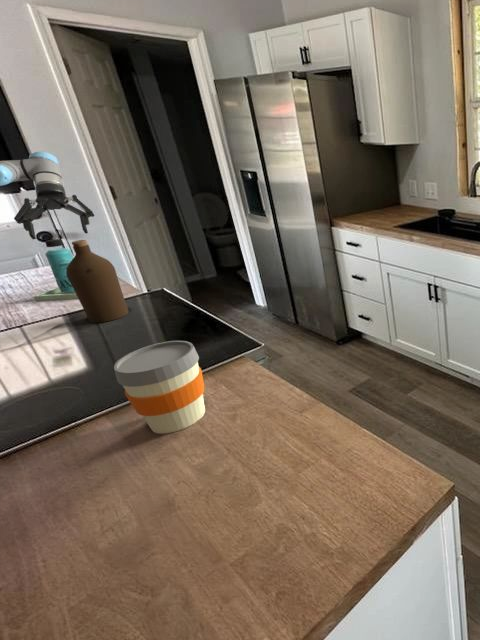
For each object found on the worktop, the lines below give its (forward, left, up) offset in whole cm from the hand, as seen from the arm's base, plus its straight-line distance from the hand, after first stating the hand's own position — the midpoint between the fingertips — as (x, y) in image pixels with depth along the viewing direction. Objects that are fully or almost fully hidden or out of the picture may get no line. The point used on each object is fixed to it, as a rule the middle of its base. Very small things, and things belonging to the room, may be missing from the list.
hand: (59, 234), depth 151 cm
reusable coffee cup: (+87, -89, -21) cm, 126 cm away
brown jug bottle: (+33, -32, -21) cm, 51 cm away
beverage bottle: (+5, -9, -20) cm, 23 cm away
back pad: (+5, -9, -20) cm, 23 cm away
